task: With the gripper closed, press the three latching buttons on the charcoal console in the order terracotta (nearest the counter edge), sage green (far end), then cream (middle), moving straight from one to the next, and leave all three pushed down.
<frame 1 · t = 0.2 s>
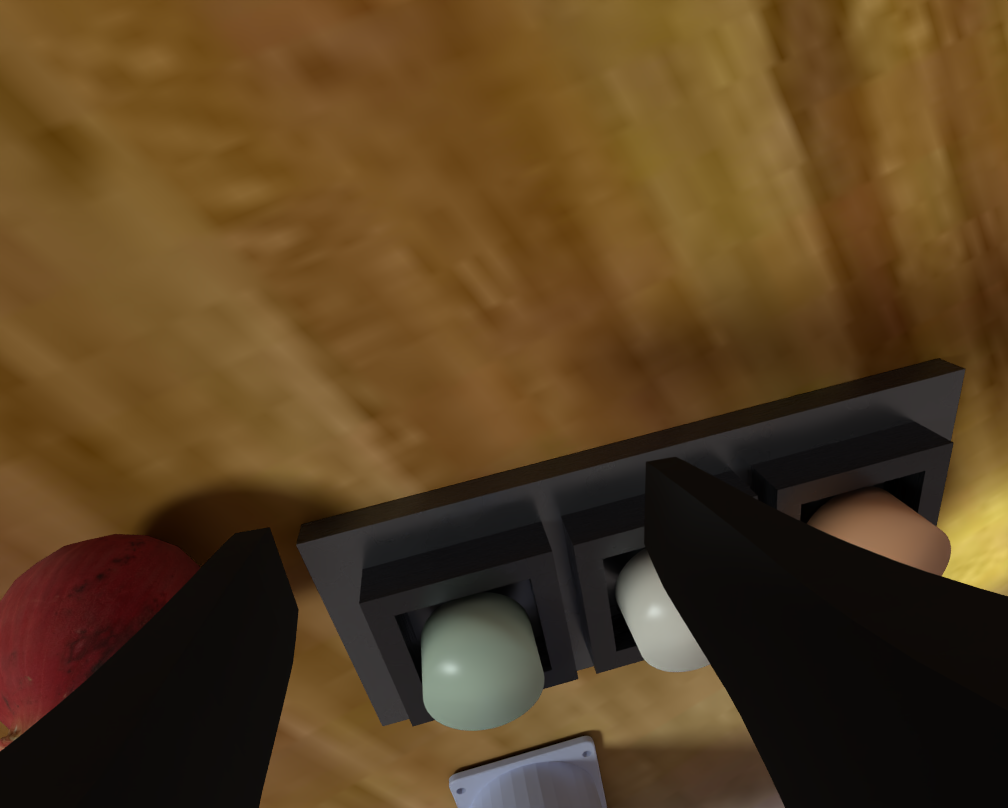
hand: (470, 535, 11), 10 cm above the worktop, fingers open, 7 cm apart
button sage: (480, 660, 21), point 4 cm above the worktop, slide at 0.0 cm
onion: (155, 548, 21), on the worktop
console: (642, 542, 25), on the worktop
button cream: (680, 604, 21), point 4 cm above the worktop, slide at 0.0 cm
button terracotta: (871, 550, 22), point 4 cm above the worktop, slide at 0.0 cm
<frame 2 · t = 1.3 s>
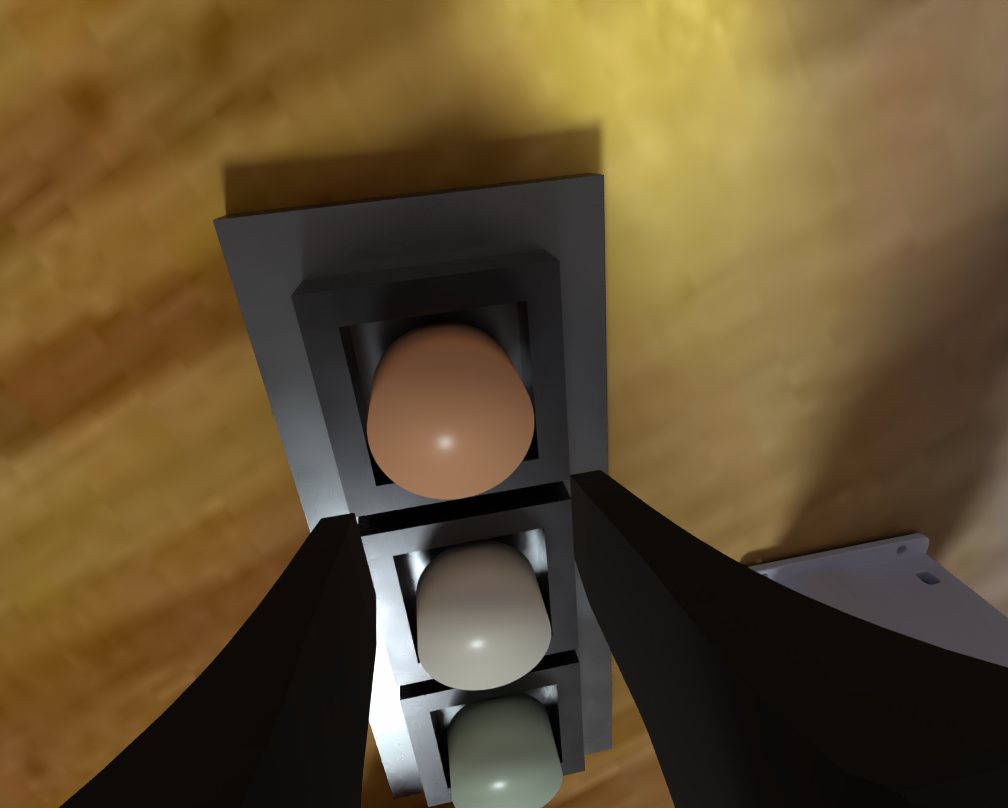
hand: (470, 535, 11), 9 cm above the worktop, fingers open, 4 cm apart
button sage: (502, 755, 23), point 4 cm above the worktop, slide at 0.0 cm
console: (469, 544, 23), on the worktop
button cream: (480, 614, 19), point 4 cm above the worktop, slide at 0.0 cm
button terracotta: (449, 409, 16), point 4 cm above the worktop, slide at 0.0 cm
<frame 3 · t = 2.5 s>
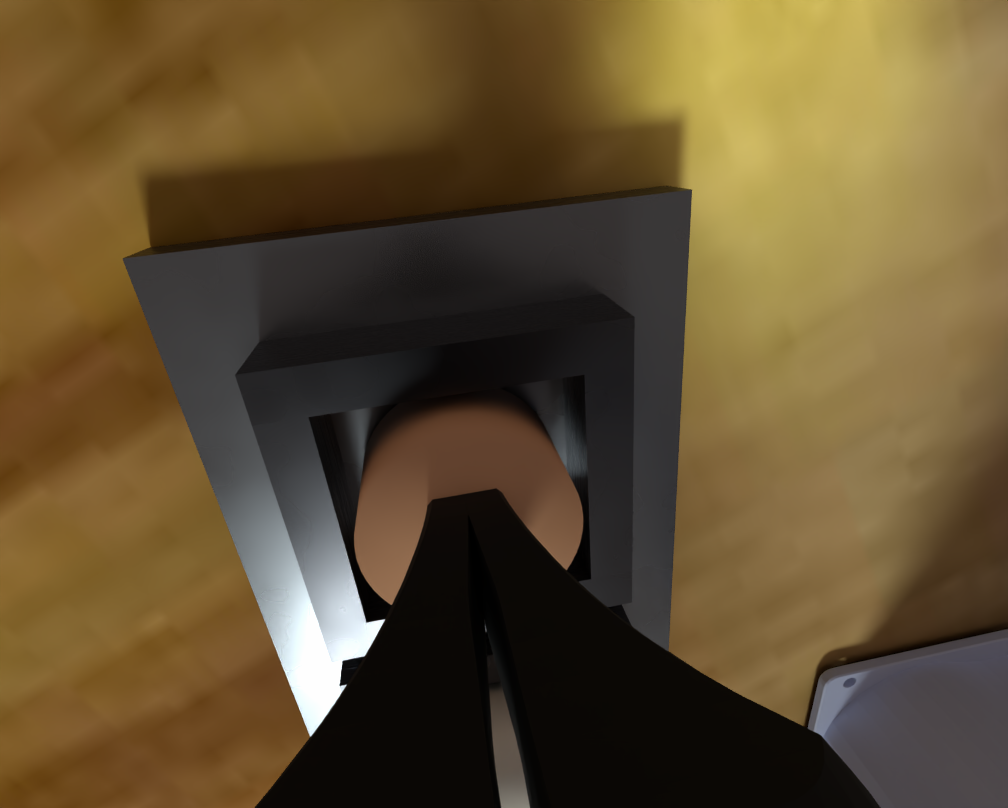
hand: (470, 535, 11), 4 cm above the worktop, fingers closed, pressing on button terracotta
console: (488, 656, 18), on the worktop
button cream: (508, 775, 14), point 4 cm above the worktop, slide at 0.0 cm
button terracotta: (465, 500, 12), point 3 cm above the worktop, slide at 1.0 cm, touching gripper
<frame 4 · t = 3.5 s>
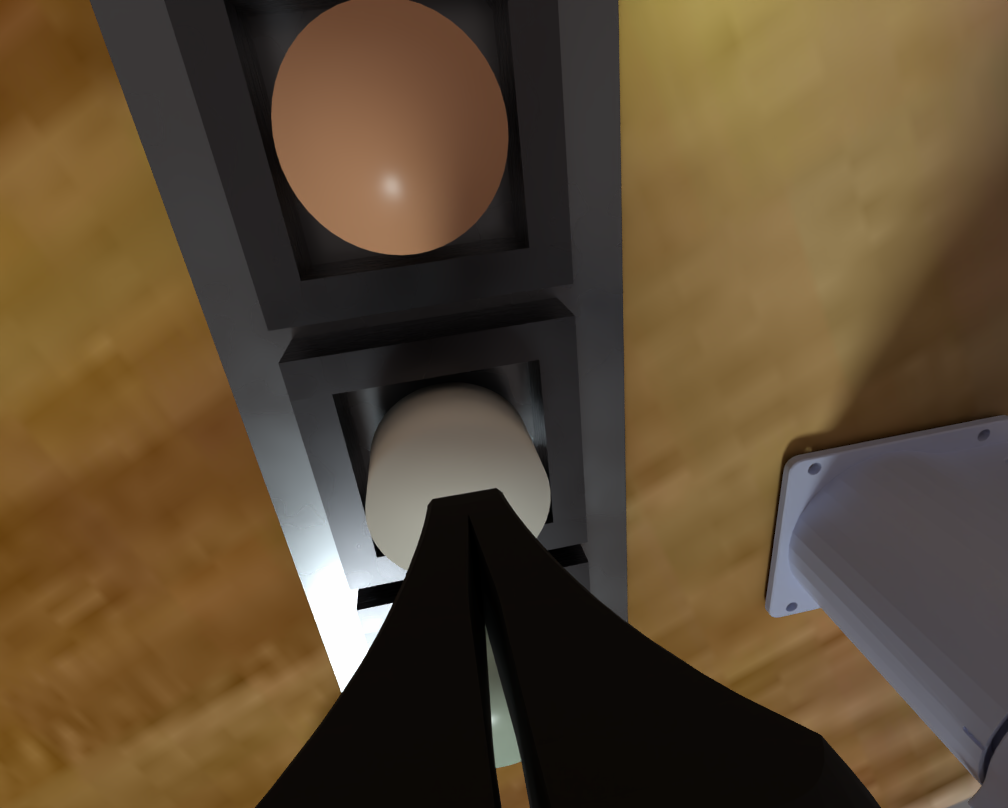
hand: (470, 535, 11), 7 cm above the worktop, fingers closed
button sage: (492, 685, 18), point 4 cm above the worktop, slide at 0.0 cm
console: (445, 415, 18), on the worktop
button cream: (455, 479, 14), point 4 cm above the worktop, slide at 0.0 cm
button terracotta: (395, 137, 12), point 3 cm above the worktop, slide at 1.0 cm
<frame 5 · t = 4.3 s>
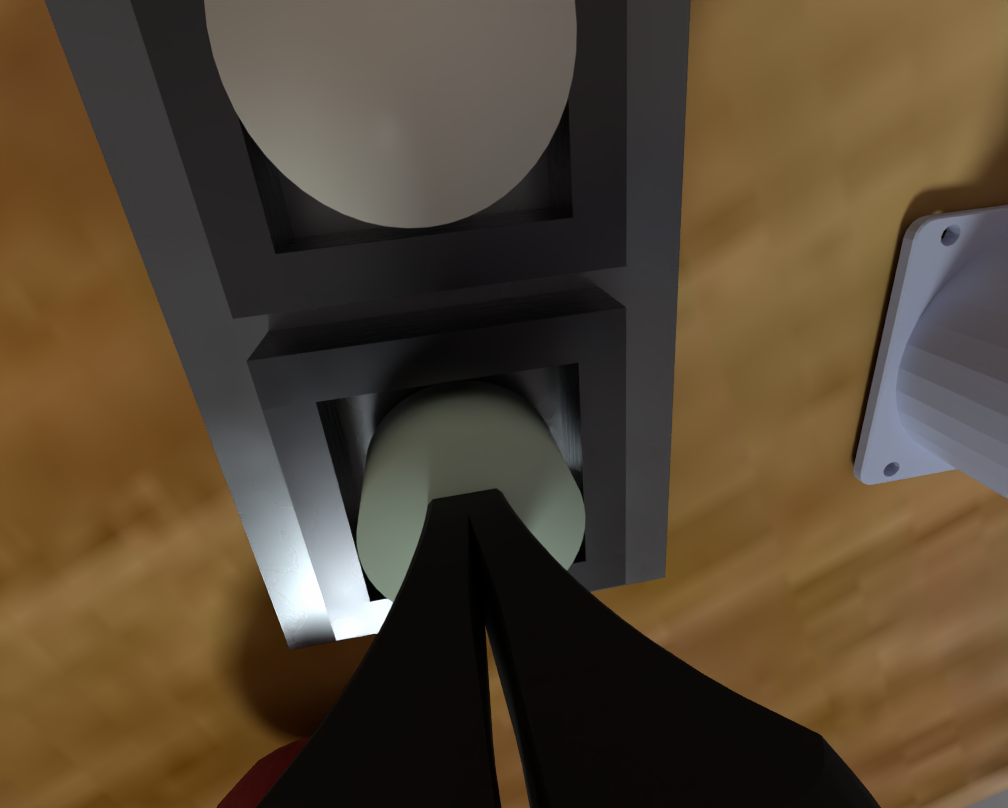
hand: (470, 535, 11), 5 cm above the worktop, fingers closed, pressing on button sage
button sage: (468, 498, 12), point 3 cm above the worktop, slide at 0.5 cm, touching gripper
onion: (325, 730, 19), on the worktop
console: (403, 81, 11), on the worktop
button cream: (401, 54, 8), point 4 cm above the worktop, slide at 0.0 cm
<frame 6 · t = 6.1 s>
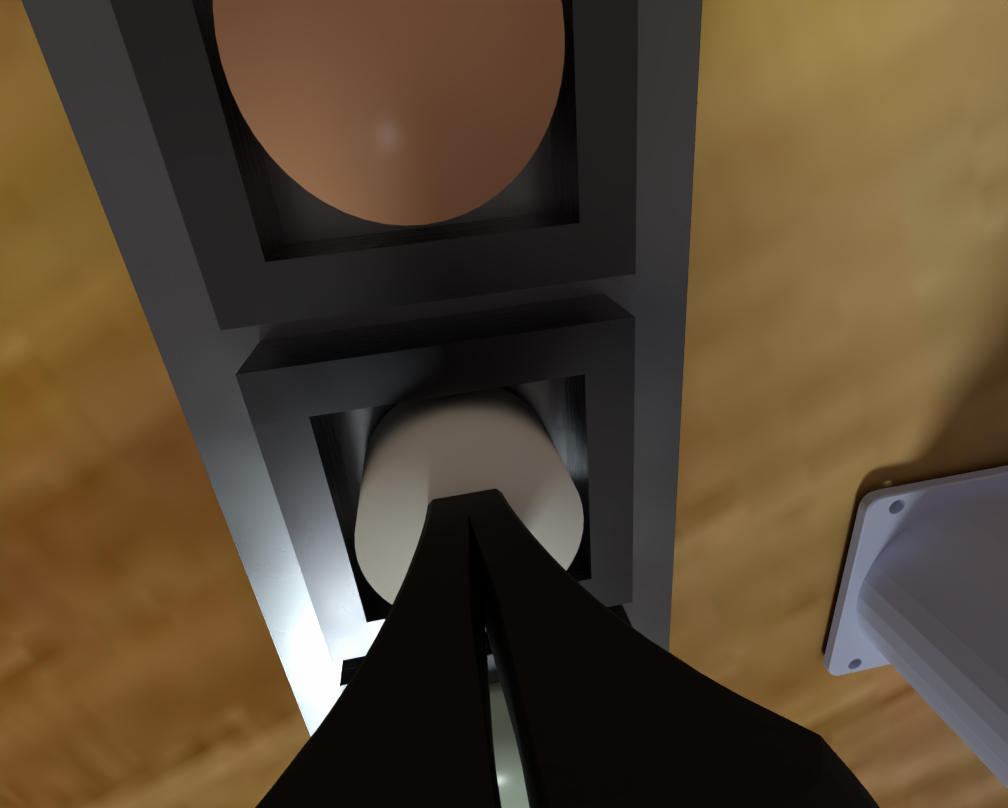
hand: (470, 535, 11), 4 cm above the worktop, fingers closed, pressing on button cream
button sage: (502, 737, 15), point 3 cm above the worktop, slide at 1.0 cm
console: (455, 438, 14), on the worktop
button cream: (466, 500, 12), point 3 cm above the worktop, slide at 1.0 cm, touching gripper
button terracotta: (399, 60, 8), point 3 cm above the worktop, slide at 1.0 cm
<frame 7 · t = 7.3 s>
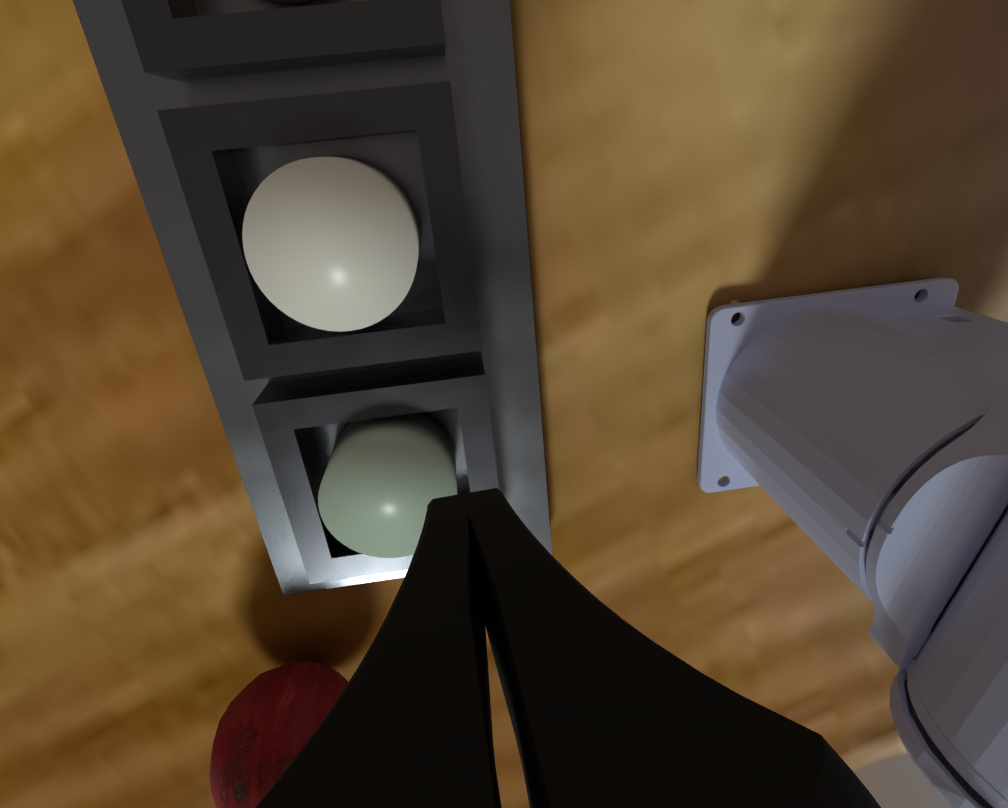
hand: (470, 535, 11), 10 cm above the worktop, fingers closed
button sage: (391, 482, 19), point 3 cm above the worktop, slide at 1.0 cm
onion: (311, 663, 26), on the worktop
console: (353, 229, 18), on the worktop
button cream: (339, 242, 15), point 3 cm above the worktop, slide at 1.0 cm
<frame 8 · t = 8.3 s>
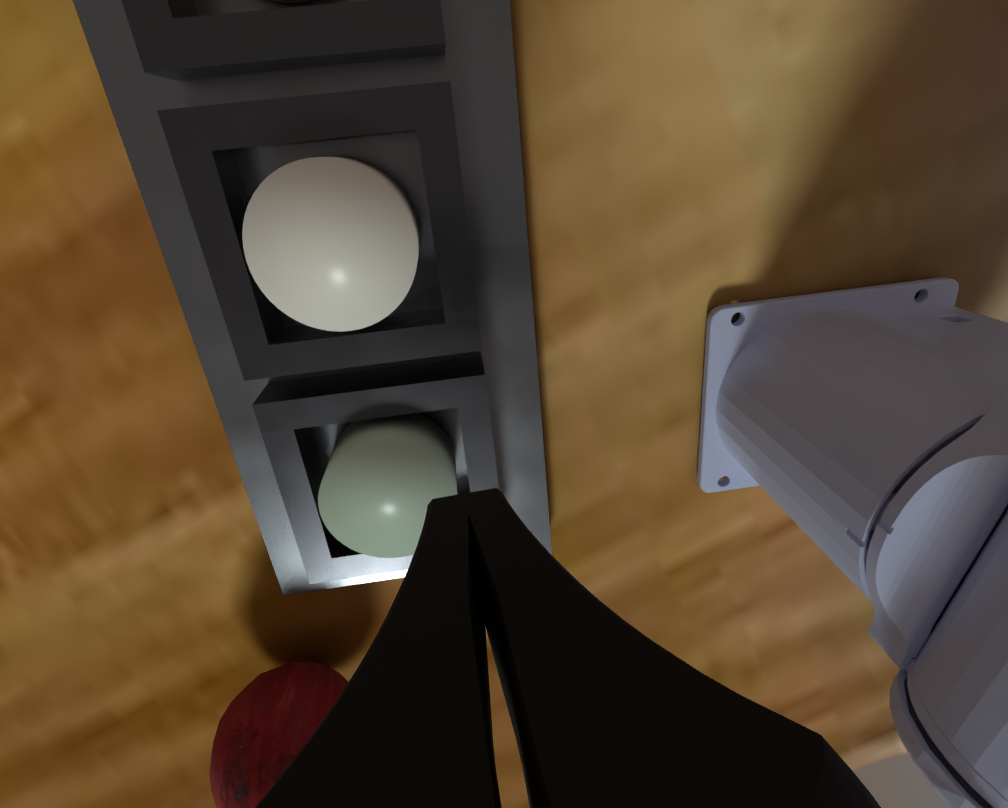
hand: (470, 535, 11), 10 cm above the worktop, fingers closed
button sage: (391, 482, 19), point 3 cm above the worktop, slide at 1.0 cm
onion: (311, 663, 26), on the worktop
console: (353, 229, 18), on the worktop
button cream: (339, 242, 15), point 3 cm above the worktop, slide at 1.0 cm
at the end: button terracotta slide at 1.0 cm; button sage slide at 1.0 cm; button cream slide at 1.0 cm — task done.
